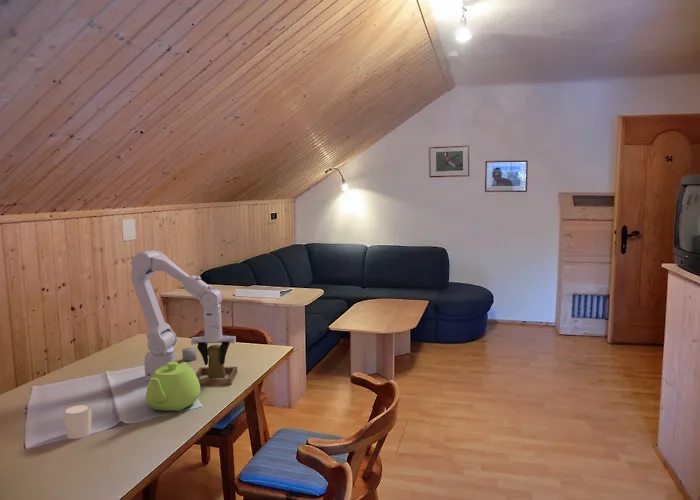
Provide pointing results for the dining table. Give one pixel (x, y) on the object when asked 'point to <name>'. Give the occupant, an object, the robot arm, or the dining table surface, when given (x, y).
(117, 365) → the dining table surface
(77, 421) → the white cylinder
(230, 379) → the walnut collar block
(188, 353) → the grey rounded piece
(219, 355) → the cork
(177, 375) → the teapot
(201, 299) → the robot arm
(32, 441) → the dining table surface
